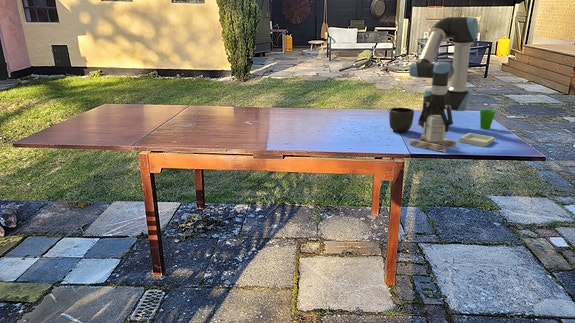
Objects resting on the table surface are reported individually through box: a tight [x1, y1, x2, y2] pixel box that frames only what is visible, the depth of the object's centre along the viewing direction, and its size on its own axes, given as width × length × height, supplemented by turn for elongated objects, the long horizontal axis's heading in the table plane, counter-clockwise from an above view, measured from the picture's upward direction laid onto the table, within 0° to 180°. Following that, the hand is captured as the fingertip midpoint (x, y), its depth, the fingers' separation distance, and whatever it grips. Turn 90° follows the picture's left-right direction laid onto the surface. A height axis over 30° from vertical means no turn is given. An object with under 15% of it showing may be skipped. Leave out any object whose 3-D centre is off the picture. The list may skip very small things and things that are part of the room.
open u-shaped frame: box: [409, 134, 457, 152], centre depth 224 cm, size 19×14×3 cm
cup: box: [479, 108, 497, 131], centre depth 258 cm, size 9×9×11 cm
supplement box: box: [424, 115, 445, 143], centre depth 222 cm, size 7×7×13 cm
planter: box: [388, 107, 415, 134], centre depth 252 cm, size 14×14×13 cm
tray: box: [458, 132, 496, 148], centre depth 232 cm, size 14×14×2 cm
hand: (434, 135), depth 223 cm, fingers closed on supplement box, 10 cm apart
